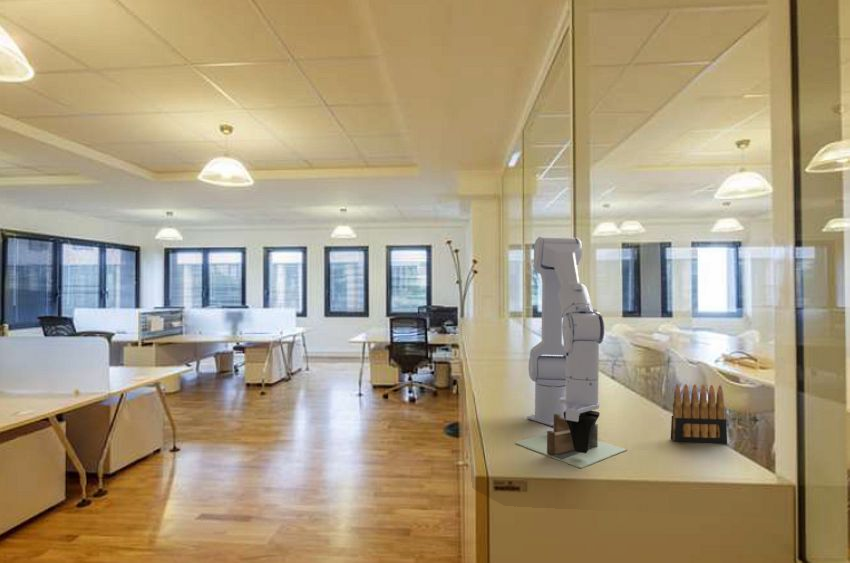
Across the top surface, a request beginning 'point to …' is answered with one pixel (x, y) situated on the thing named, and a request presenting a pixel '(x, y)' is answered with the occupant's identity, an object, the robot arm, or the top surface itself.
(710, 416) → the ammunition clip
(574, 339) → the robot arm
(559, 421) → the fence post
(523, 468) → the top surface
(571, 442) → the fence gate
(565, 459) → the card
